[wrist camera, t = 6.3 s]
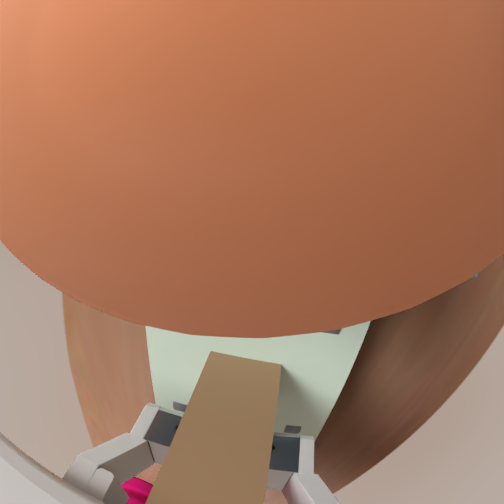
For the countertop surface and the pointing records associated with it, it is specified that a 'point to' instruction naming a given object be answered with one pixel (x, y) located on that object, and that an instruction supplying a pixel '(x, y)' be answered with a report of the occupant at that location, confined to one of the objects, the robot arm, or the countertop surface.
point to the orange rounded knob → (252, 156)
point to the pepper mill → (137, 490)
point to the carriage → (241, 405)
